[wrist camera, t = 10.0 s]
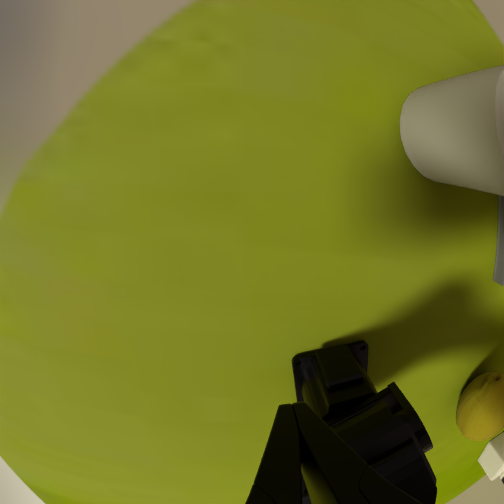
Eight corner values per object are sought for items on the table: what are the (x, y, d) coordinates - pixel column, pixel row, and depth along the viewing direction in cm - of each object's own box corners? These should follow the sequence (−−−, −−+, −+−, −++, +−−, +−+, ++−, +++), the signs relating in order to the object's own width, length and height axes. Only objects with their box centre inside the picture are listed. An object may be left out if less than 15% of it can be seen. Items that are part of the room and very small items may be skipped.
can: (467, 104, 18) (578, 97, 7) (460, 189, 20) (575, 221, 9) (396, 75, 18) (512, 31, 6) (388, 171, 20) (516, 193, 8)
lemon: (478, 404, 29) (505, 439, 21) (436, 424, 29) (462, 465, 21) (502, 343, 26) (540, 377, 18) (459, 362, 26) (497, 406, 18)
